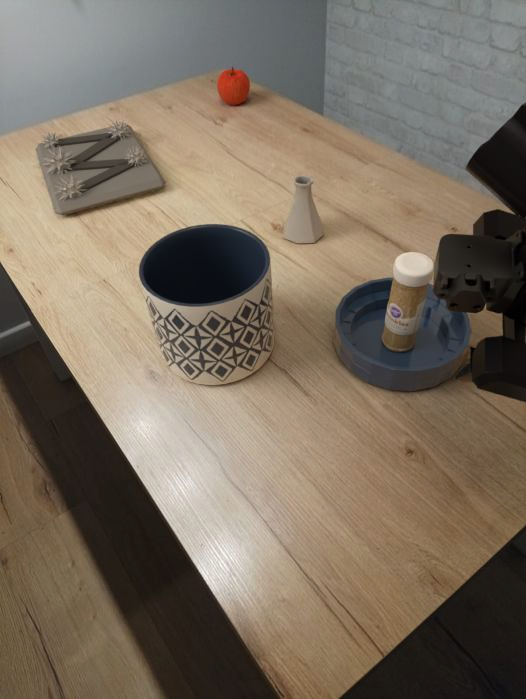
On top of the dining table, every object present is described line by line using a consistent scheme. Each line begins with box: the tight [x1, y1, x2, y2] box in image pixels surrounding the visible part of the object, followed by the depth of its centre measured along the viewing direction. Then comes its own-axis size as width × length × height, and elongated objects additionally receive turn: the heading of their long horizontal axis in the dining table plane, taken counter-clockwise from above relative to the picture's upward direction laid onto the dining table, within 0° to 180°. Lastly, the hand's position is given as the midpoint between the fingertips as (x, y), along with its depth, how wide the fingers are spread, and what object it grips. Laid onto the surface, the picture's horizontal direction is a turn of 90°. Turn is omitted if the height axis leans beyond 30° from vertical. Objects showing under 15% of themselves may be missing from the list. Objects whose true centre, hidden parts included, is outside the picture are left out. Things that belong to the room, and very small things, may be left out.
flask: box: [282, 174, 325, 244], centre depth 85 cm, size 7×7×10 cm
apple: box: [216, 66, 251, 106], centre depth 125 cm, size 8×8×8 cm
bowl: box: [333, 277, 473, 392], centre depth 69 cm, size 17×17×4 cm
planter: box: [138, 223, 275, 386], centre depth 67 cm, size 16×16×14 cm
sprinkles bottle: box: [382, 251, 435, 352], centre depth 65 cm, size 5×5×14 cm
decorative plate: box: [34, 118, 168, 217], centre depth 105 cm, size 30×22×7 cm
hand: (459, 340), depth 54 cm, fingers open, 9 cm apart
